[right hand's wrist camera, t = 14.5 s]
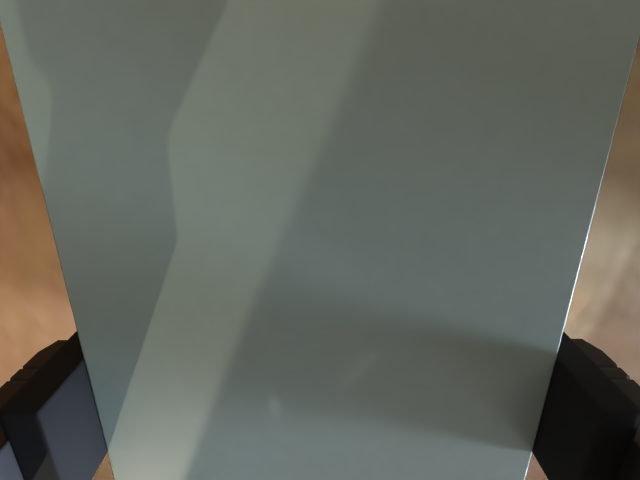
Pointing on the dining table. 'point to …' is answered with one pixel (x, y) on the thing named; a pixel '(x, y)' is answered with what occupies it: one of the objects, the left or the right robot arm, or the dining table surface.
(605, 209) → the dining table surface
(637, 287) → the dining table surface
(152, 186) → the cabinet
